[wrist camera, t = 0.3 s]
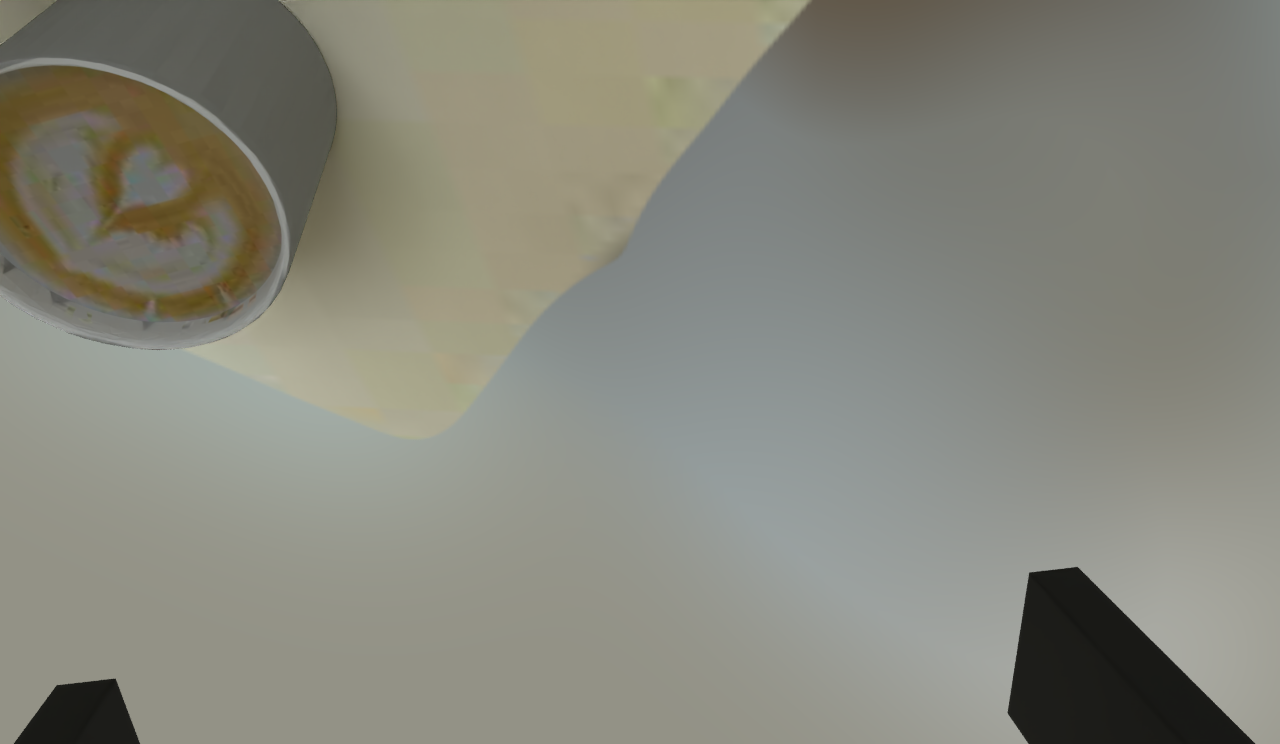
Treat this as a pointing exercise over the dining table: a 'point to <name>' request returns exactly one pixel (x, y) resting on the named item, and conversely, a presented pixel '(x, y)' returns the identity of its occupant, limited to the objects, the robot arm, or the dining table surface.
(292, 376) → the dining table surface
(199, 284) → the coffee mug
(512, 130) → the dining table surface
